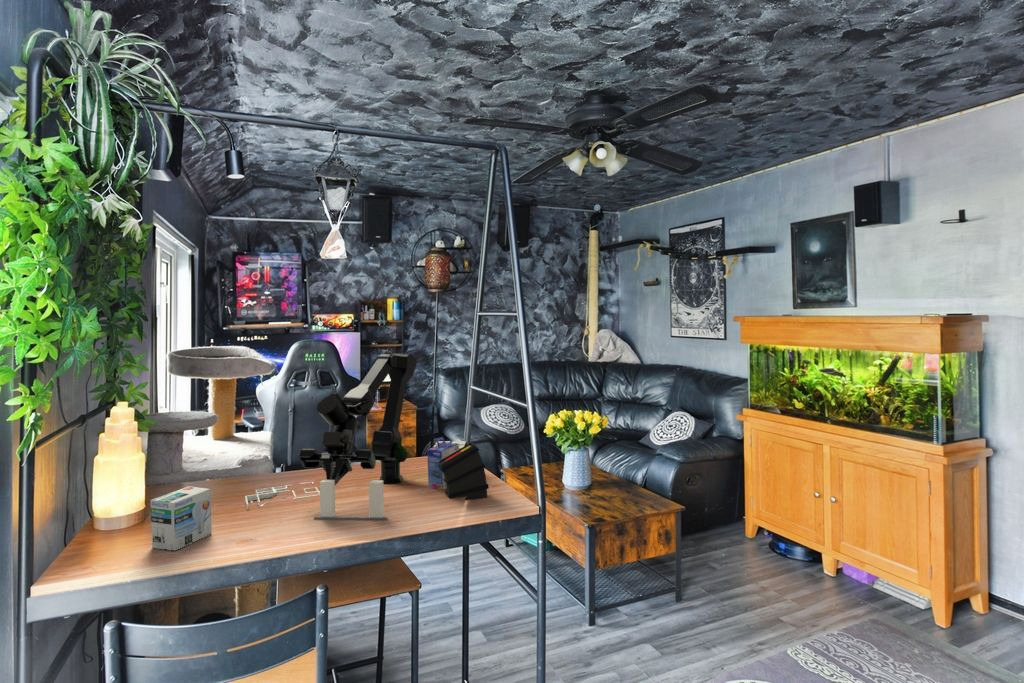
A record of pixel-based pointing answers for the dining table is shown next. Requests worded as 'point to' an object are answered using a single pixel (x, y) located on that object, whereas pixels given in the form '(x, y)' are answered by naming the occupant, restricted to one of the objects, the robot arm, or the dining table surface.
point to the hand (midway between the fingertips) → (329, 489)
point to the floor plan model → (273, 493)
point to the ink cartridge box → (434, 457)
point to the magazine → (464, 473)
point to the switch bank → (350, 518)
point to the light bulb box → (181, 518)
